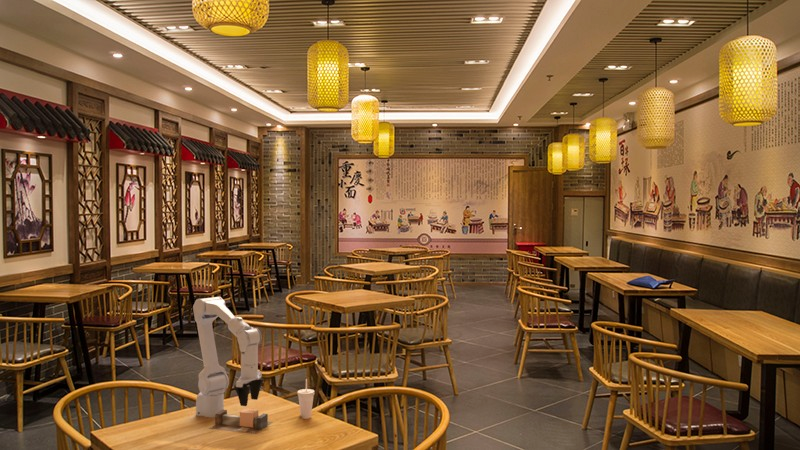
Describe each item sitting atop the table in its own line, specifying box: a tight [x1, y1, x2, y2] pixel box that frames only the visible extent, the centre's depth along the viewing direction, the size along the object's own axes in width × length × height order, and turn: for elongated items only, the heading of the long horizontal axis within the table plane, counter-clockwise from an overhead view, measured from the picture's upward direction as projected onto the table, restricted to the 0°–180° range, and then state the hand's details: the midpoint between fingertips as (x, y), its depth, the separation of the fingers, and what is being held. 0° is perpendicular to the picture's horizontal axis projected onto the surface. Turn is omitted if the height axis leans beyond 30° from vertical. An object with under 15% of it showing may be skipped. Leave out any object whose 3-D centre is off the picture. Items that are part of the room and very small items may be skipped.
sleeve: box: [239, 408, 259, 427], centre depth 211 cm, size 5×4×5 cm
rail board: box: [208, 409, 273, 435], centre depth 212 cm, size 18×12×5 cm, turn 75°
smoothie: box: [296, 378, 315, 420], centre depth 224 cm, size 6×6×14 cm
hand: (249, 402), depth 211 cm, fingers open, 7 cm apart
